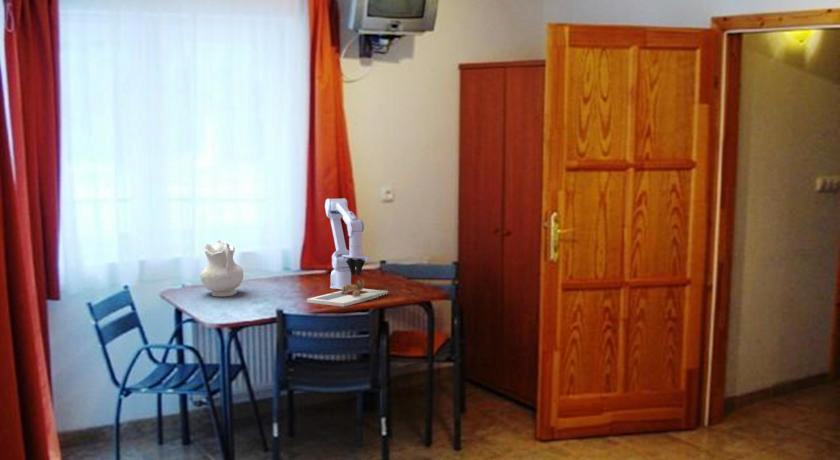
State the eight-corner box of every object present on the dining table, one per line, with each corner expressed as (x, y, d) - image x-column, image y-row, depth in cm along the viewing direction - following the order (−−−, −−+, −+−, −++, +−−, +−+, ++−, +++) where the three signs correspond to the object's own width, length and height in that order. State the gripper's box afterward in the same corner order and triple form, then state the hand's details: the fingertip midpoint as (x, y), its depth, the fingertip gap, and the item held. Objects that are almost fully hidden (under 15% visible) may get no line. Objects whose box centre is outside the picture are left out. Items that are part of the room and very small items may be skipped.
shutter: (352, 297, 356) (352, 291, 356) (377, 291, 374) (377, 285, 373) (363, 298, 353) (363, 293, 353) (388, 292, 370) (388, 286, 370)
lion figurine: (362, 294, 375) (362, 278, 374) (366, 295, 371) (365, 279, 371) (338, 296, 370) (338, 280, 369) (341, 297, 366) (341, 281, 365)
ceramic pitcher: (255, 295, 370) (254, 242, 368) (218, 301, 356) (217, 245, 354) (228, 290, 385) (227, 238, 383) (192, 295, 371) (191, 242, 369)
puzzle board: (306, 302, 353) (306, 298, 353) (354, 290, 384) (354, 287, 384) (343, 306, 343) (343, 303, 343) (389, 294, 374) (389, 291, 374)
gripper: (337, 246, 370) (337, 275, 371) (363, 247, 362) (363, 277, 364) (346, 244, 376) (346, 273, 377) (372, 246, 368) (372, 275, 370)
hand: (355, 275), depth 371 cm, fingers closed
